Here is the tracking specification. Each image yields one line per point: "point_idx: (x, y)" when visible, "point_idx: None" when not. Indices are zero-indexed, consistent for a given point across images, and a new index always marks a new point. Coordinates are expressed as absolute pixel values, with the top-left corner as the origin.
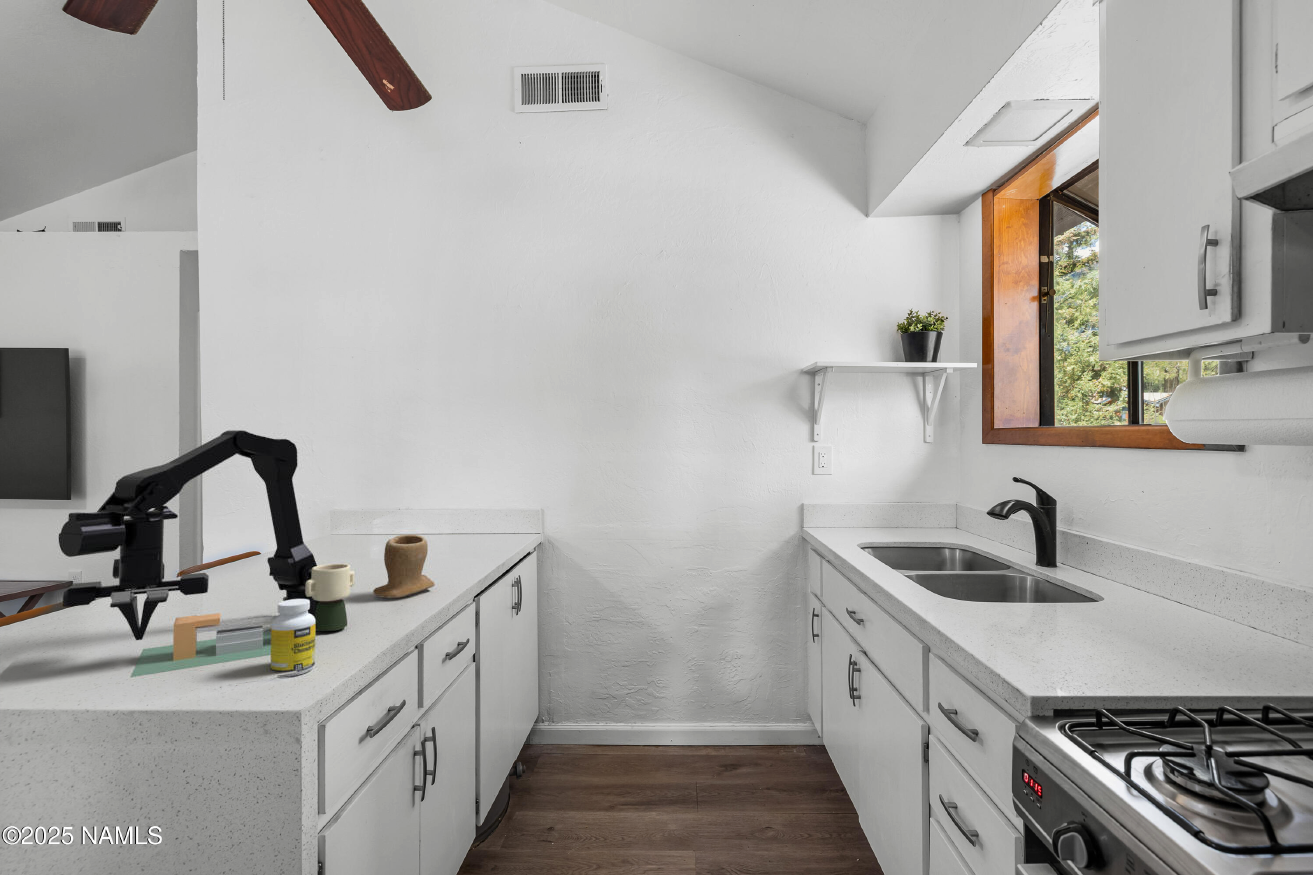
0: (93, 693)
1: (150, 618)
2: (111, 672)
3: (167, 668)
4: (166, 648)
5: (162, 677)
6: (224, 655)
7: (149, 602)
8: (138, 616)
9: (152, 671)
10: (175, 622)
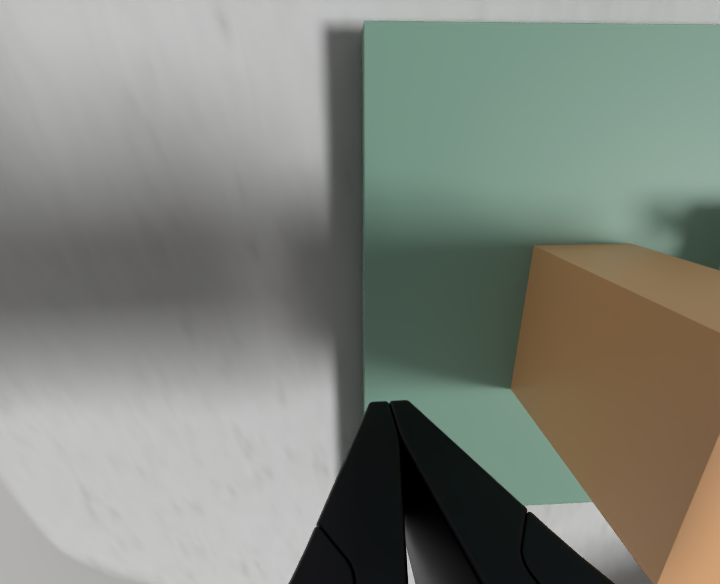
0: (265, 529)
1: (521, 509)
2: (262, 318)
3: None
4: (496, 106)
5: None
6: None
7: None
8: (406, 564)
9: None
10: (687, 531)
